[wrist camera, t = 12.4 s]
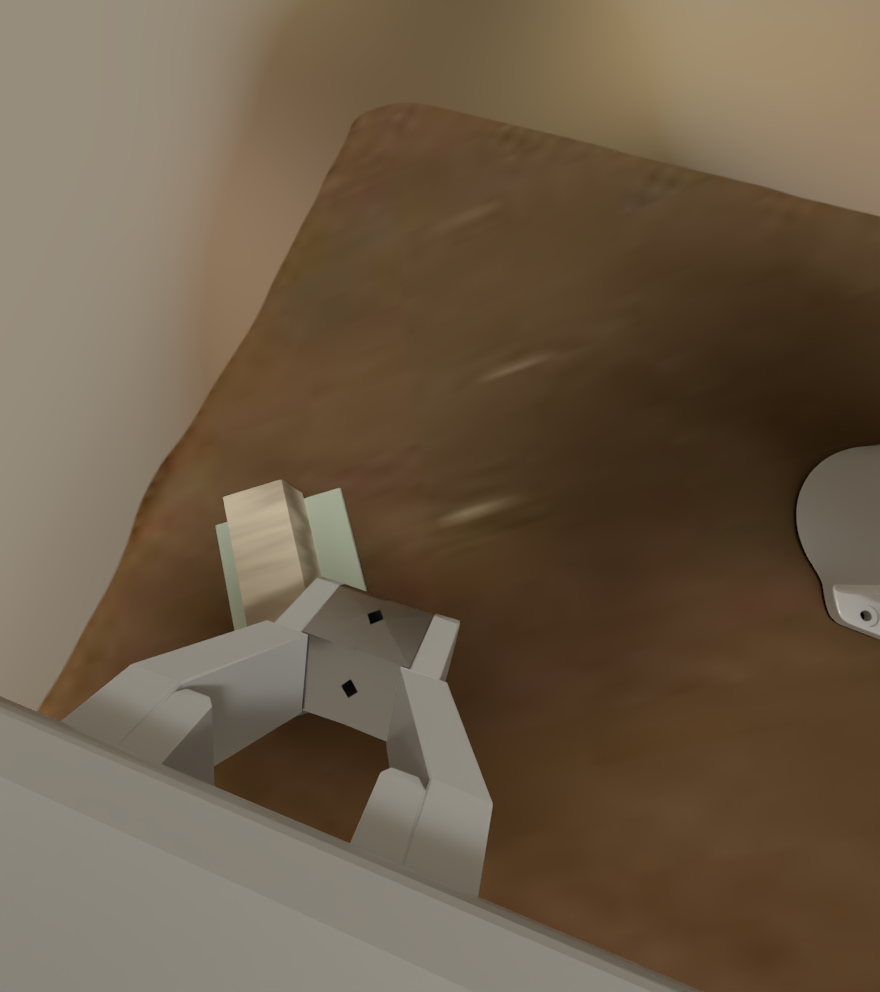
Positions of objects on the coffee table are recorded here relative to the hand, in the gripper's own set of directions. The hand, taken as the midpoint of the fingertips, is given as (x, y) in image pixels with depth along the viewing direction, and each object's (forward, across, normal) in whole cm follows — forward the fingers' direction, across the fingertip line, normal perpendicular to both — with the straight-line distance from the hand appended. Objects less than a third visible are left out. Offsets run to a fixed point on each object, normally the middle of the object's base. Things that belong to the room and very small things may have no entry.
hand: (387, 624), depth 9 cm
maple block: (+17, +9, +26) cm, 32 cm away
